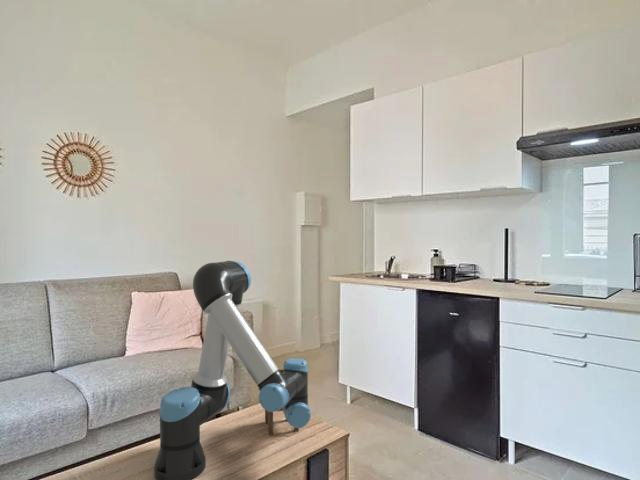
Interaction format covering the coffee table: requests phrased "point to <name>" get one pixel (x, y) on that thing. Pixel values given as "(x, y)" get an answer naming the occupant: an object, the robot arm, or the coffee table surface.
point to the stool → (270, 421)
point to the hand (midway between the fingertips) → (279, 377)
